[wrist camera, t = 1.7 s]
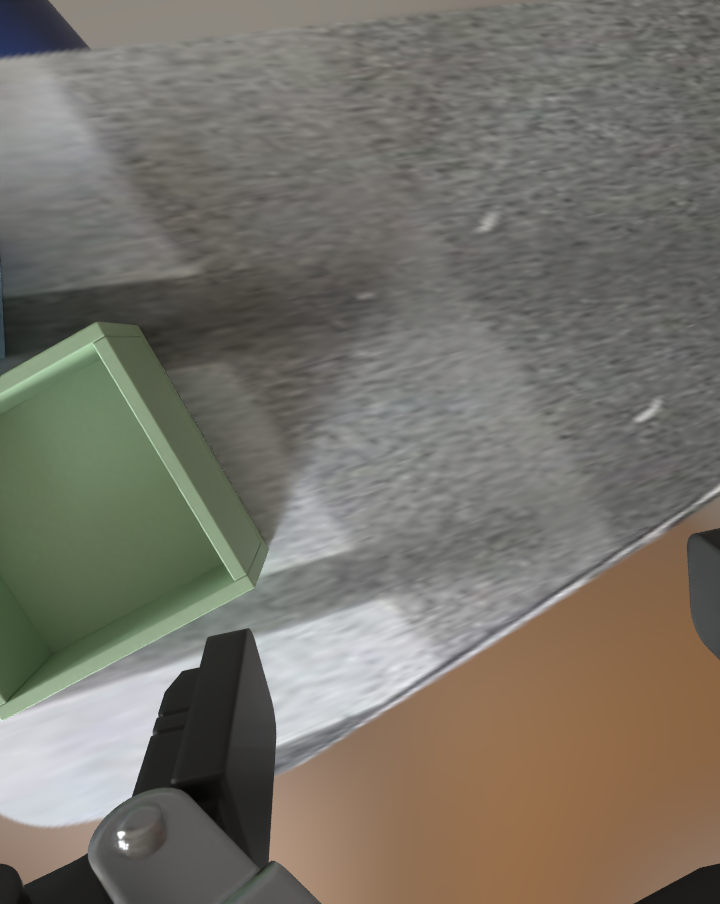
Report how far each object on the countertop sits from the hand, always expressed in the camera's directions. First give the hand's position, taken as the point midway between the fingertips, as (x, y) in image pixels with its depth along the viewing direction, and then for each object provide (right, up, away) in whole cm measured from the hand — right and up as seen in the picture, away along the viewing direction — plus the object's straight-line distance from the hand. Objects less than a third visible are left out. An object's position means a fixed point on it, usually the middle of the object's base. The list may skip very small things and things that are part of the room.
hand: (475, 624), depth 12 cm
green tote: (-16, +1, +24) cm, 29 cm away
